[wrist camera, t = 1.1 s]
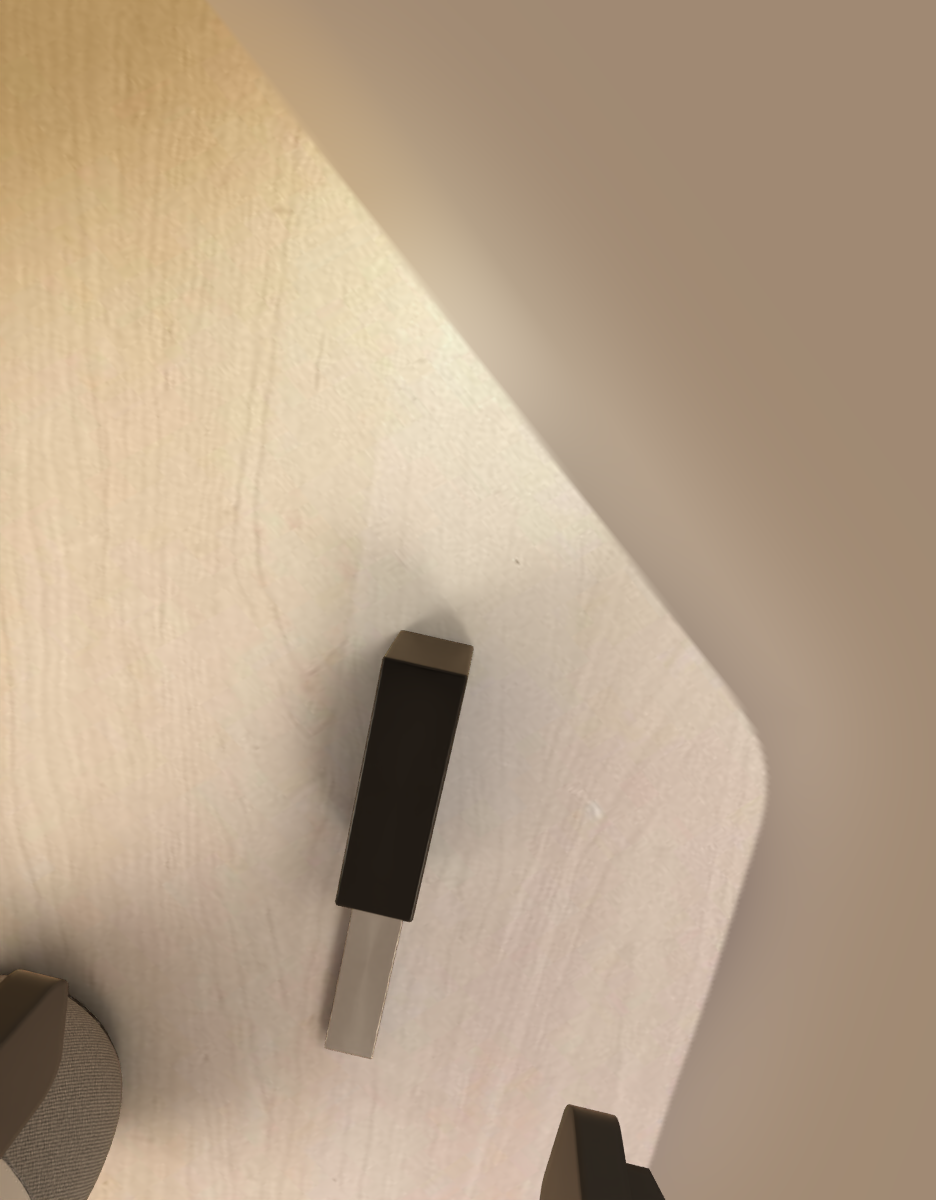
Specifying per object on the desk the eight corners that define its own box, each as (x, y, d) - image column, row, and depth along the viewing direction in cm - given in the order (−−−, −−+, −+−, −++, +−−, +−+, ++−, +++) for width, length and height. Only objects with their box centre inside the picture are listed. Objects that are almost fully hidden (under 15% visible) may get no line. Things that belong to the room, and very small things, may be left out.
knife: (400, 628, 21) (382, 656, 18) (474, 645, 21) (468, 676, 18) (319, 1034, 24) (293, 1114, 21) (382, 1050, 24) (364, 1131, 21)
